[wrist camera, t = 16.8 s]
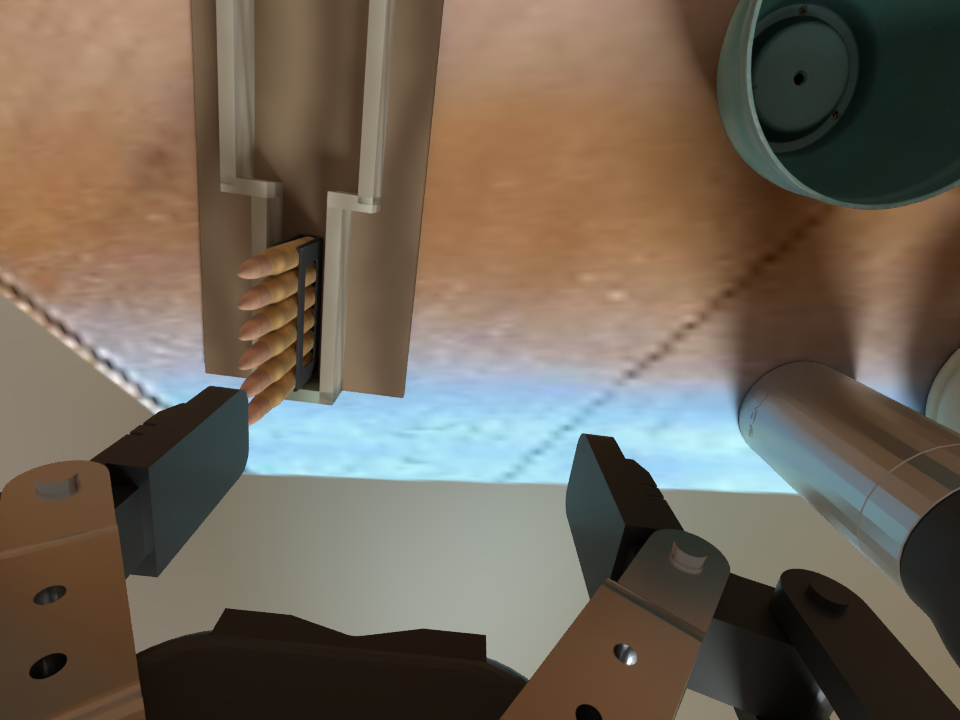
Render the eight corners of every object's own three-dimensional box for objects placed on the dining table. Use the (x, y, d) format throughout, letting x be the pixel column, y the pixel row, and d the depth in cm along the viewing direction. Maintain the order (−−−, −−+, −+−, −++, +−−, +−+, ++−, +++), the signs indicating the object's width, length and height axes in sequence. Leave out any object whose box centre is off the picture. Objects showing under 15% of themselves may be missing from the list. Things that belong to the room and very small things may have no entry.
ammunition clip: (298, 233, 37) (220, 253, 26) (323, 236, 37) (256, 258, 26) (295, 367, 40) (224, 438, 29) (318, 370, 40) (257, 442, 29)
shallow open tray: (446, -29, 32) (443, -57, 29) (404, 394, 42) (397, 413, 38) (195, -73, 32) (159, -106, 28) (210, 369, 41) (185, 386, 38)
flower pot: (641, 182, 37) (705, 180, 26) (711, -85, 32) (824, -217, 21) (847, 221, 38) (986, 233, 27) (948, -32, 33) (1165, -134, 22)
